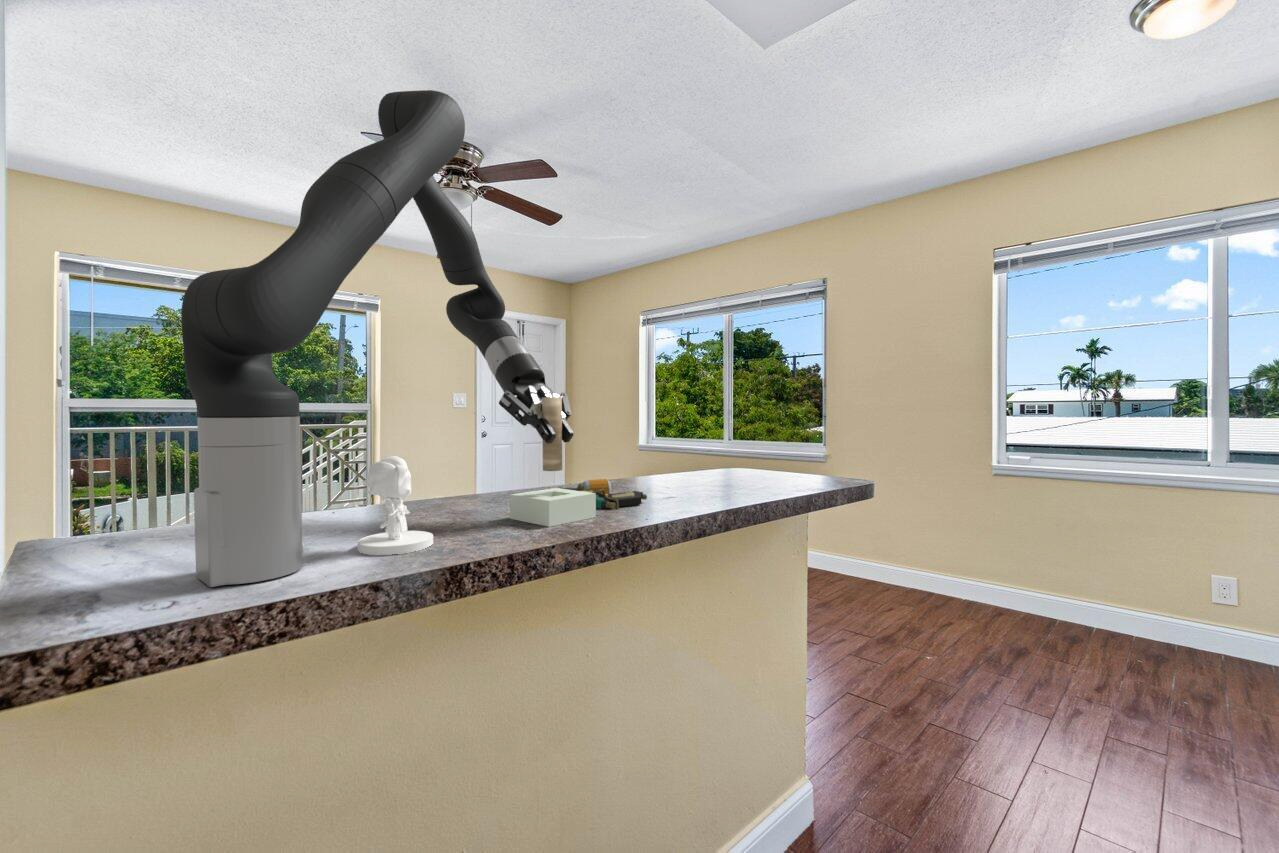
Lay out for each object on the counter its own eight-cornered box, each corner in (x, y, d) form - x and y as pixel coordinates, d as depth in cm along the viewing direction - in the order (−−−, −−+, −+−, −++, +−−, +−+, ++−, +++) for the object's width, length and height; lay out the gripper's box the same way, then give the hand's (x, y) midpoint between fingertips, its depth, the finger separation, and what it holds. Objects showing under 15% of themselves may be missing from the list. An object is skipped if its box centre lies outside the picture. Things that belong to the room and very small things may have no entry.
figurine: (406, 557, 69) (404, 459, 68) (341, 553, 71) (339, 458, 70) (446, 540, 78) (445, 453, 77) (387, 537, 80) (386, 452, 79)
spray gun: (654, 510, 107) (588, 522, 97) (604, 494, 120) (541, 504, 110) (655, 487, 106) (588, 498, 97) (604, 474, 119) (541, 482, 110)
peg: (551, 471, 91) (550, 397, 90) (538, 470, 93) (538, 397, 92) (566, 469, 93) (565, 397, 93) (553, 468, 95) (553, 397, 95)
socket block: (549, 526, 86) (549, 500, 86) (509, 518, 93) (509, 494, 93) (595, 517, 94) (595, 493, 94) (556, 510, 100) (556, 487, 100)
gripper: (488, 348, 92) (536, 424, 84) (554, 354, 102) (603, 422, 95) (470, 382, 95) (515, 458, 88) (536, 384, 106) (581, 452, 99)
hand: (560, 439), depth 91 cm, fingers closed on peg, 3 cm apart
